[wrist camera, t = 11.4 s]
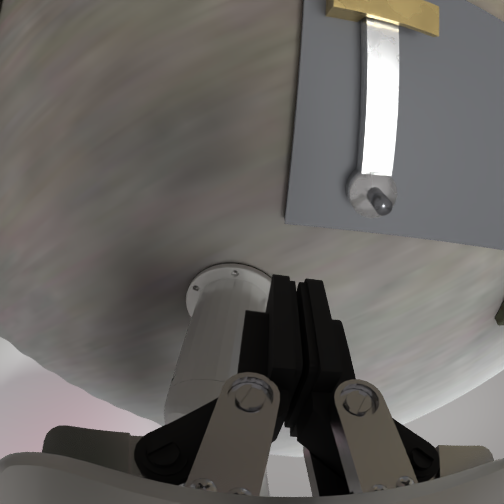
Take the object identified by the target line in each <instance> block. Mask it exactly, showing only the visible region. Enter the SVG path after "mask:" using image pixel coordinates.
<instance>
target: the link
mask: <svg viewBox="0 0 504 504" xmlns="http://www.w3.org/2000/svg"><path fill="white" fill-rule="evenodd" d="M398 96H399V27H398V25H396V24H393V23H389V22H386V21H382V20H378V19H374V18H370V17H366V16H365V17H364V18H363V19H361V106H360V127H359V143H358V156H357V169H356V170H355V171H354V172H352V174H351V175H350V176H349V178H348V180H347V184H346V194H347V197H348V199H349V201H350V203H351V204H352V206H353V208H354V209H355V211H356V212H357V213H359V214H360V215H362V216H364V217H367V218H378V217H381V216H385V215H388V214H389V213H390V212H391V211H392V208H393V206H394V204H395V202H396V199H397V187H396V184H395V182H394V180H393V179H392V178H391V177H390V176H392V168H393V159H394V150H395V140H396V128H397V114H398Z"/></svg>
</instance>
